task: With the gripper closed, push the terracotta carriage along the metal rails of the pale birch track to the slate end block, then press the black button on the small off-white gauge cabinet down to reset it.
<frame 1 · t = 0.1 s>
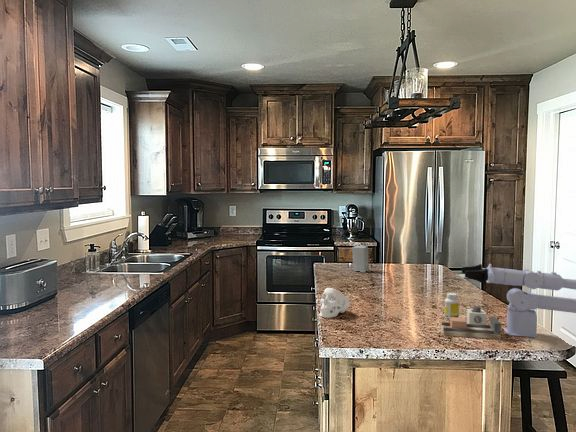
hand: (463, 272, 174), 22 cm above the countertop, tool horizontal, fingers open, 7 cm apart
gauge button: (476, 313, 181), point 4 cm above the countertop, slide at 0.0 cm
skull bowl: (333, 314, 197), on the countertop
carriage: (458, 323, 172), point 3 cm above the countertop, slide at 0.0 cm
supplement bottle: (451, 318, 191), on the countertop
rail bed: (469, 333, 171), on the countertop
gauge cabinet: (476, 325, 181), on the countertop
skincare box: (360, 271, 294), on the countertop
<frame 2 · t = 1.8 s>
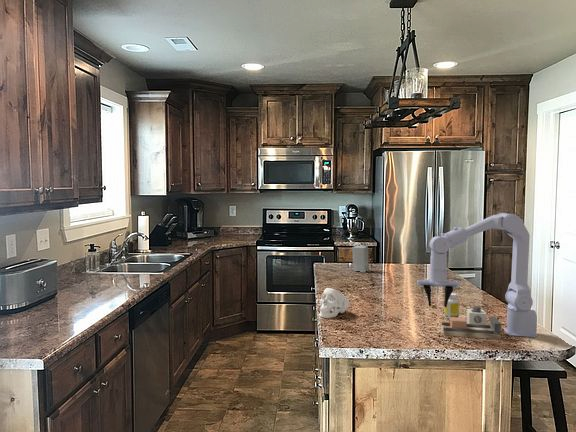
hand: (437, 306, 173), 9 cm above the countertop, tool pointing down, fingers open, 5 cm apart
nothing on the countertop moved.
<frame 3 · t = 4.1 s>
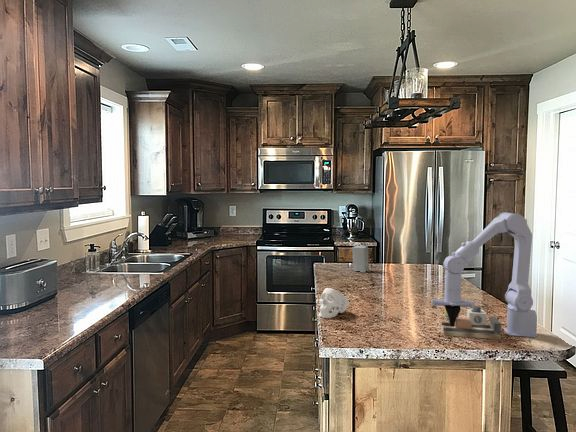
hand: (451, 325, 172), 2 cm above the countertop, tool pointing down, fingers closed
carriage: (463, 324, 171), point 3 cm above the countertop, slide at 1.7 cm, touching gripper
everything else where it was.
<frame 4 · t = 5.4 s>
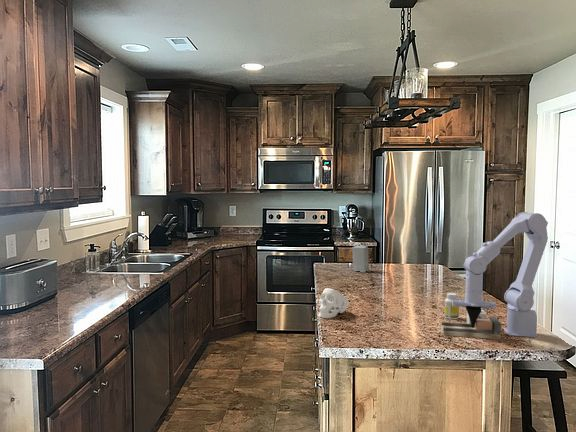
hand: (472, 327, 171), 2 cm above the countertop, tool pointing down, fingers closed
carriage: (483, 325, 170), point 3 cm above the countertop, slide at 8.6 cm, touching gripper
everything else where it was.
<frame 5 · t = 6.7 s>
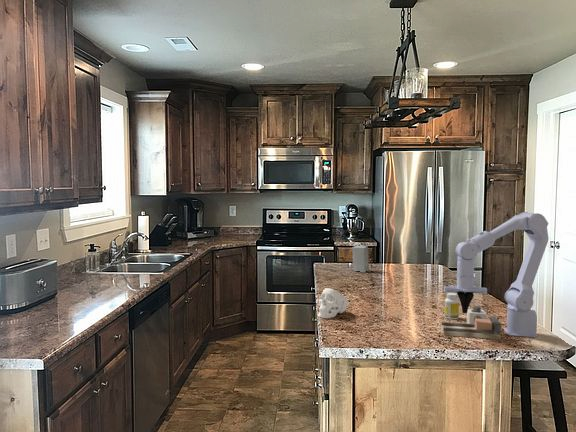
hand: (464, 312, 171), 8 cm above the countertop, tool pointing down, fingers closed
carriage: (483, 325, 170), point 3 cm above the countertop, slide at 8.5 cm
everything else where it was.
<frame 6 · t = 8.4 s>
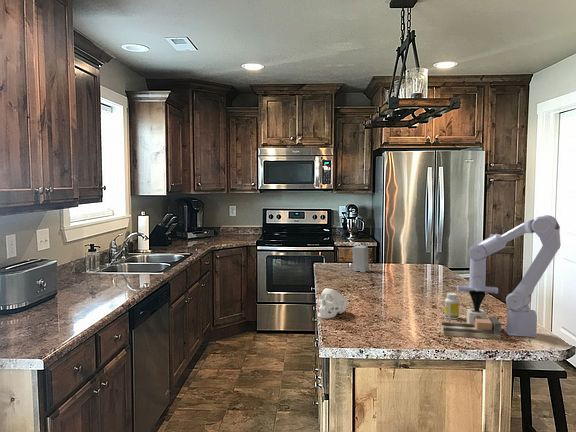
hand: (476, 310, 180), 6 cm above the countertop, tool pointing down, fingers closed, pressing on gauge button
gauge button: (476, 317, 181), point 3 cm above the countertop, slide at 1.3 cm, touching gripper
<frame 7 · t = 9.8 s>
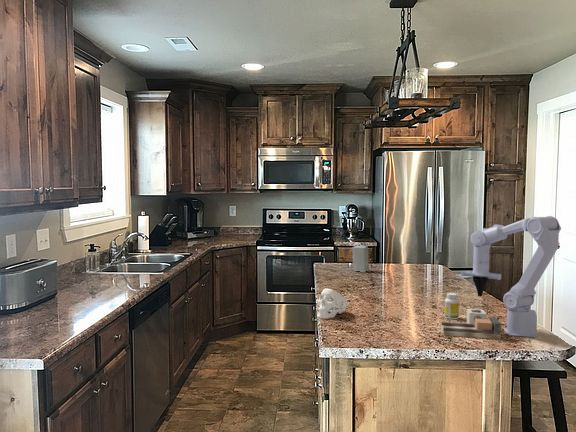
hand: (480, 295, 185), 10 cm above the countertop, tool pointing down, fingers closed
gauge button: (476, 317, 181), point 3 cm above the countertop, slide at 1.3 cm
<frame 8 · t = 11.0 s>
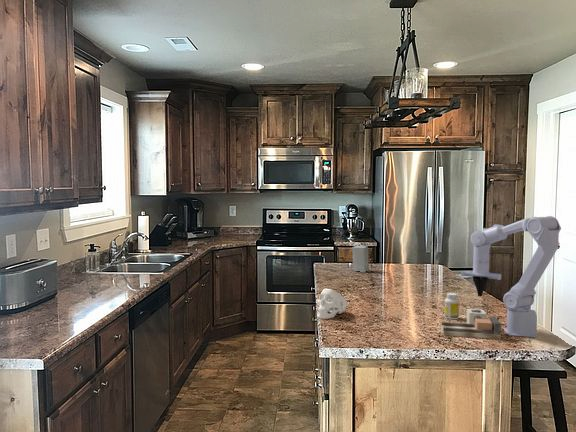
hand: (480, 295, 185), 10 cm above the countertop, tool pointing down, fingers closed
at the end: carriage slide at 8.5 cm; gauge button slide at 1.3 cm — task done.
